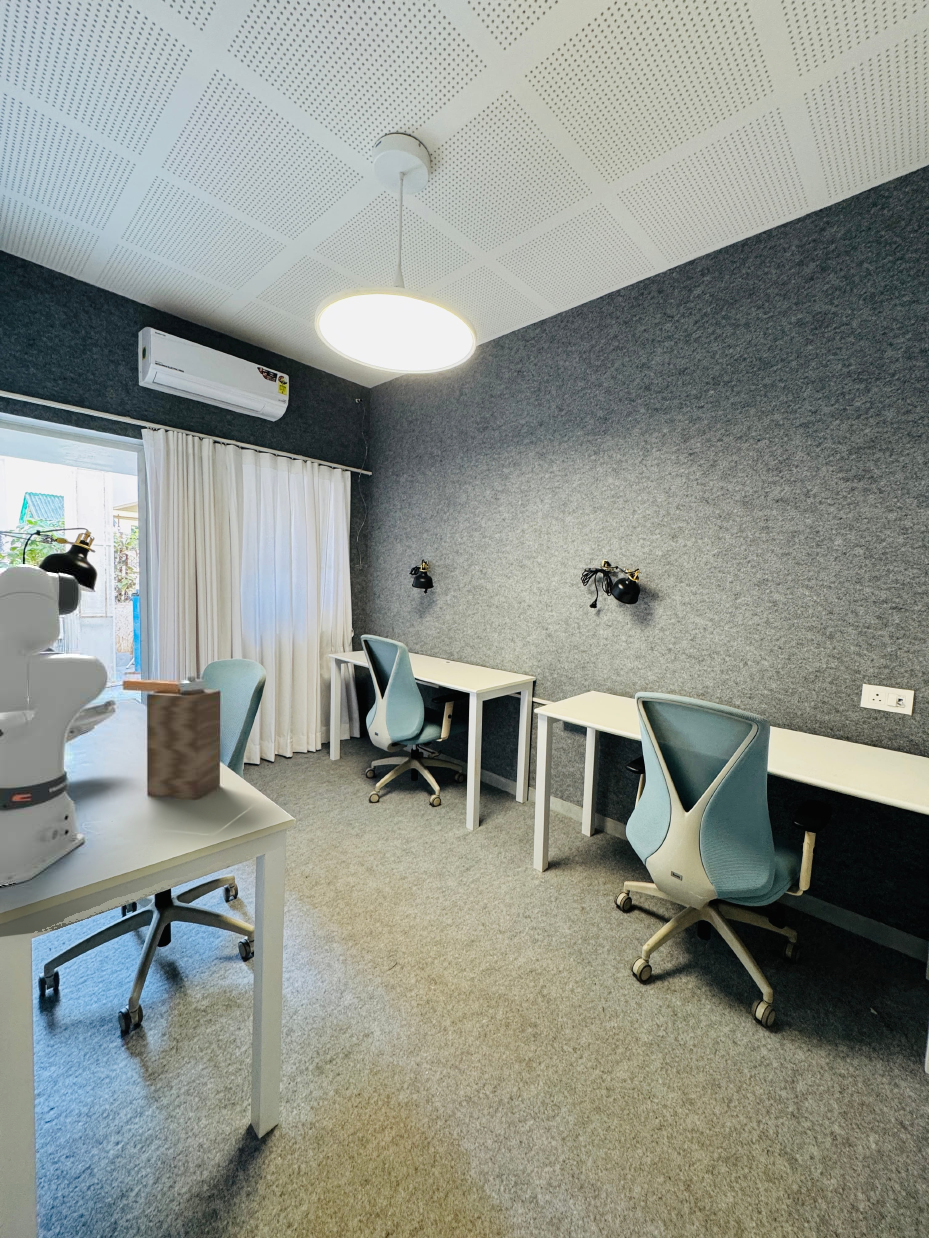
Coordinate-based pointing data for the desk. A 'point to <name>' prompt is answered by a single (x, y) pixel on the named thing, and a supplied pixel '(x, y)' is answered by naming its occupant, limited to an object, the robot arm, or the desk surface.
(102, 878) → the desk surface
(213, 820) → the desk surface
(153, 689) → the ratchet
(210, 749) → the pedestal
